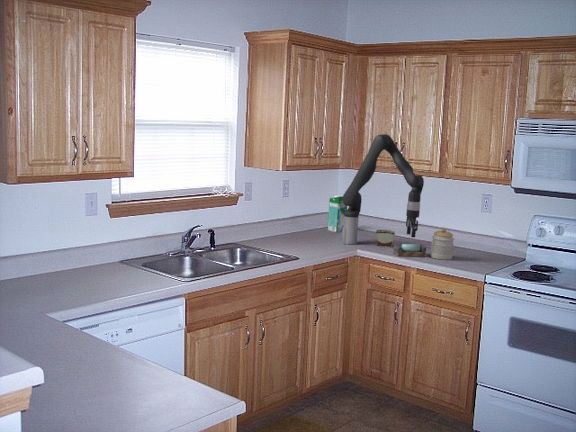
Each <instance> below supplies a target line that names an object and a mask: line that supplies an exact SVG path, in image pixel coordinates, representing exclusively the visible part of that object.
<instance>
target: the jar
mask: <svg viewBox="0 0 576 432" xmlns="http://www.w3.org/2000/svg"><path fill="white" fill-rule="evenodd" d="M453 236H454V234H453V233H451V232H450V231H448V230H447V229H446V228H444V227H443V228H442V229H441V230H437V231H435V232H434V233H433V236H431V239H432V241H431V242H430V243H431V247H430V248H431V249H430V257H431V258H433V259H436V260H441V261H442V260H443V261H445V260H446V261H447V260H448V261H449V260H452V259H453V256H454V241H455V238H454V237H453Z"/></svg>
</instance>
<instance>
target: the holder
mask: <svg viewBox="0 0 576 432" xmlns="http://www.w3.org/2000/svg"><path fill="white" fill-rule="evenodd" d="M419 245H420V252H402V247H401V245H399V244H398V243H397V244H396V243H394V244H393V253H392V254H394V255H395V256H397V257H398V258H399V257H405V258H407V257H409V258H410V257H411V258H426V257H427V247H426V246H424V245H422V244H419Z"/></svg>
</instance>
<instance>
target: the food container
mask: <svg viewBox="0 0 576 432" xmlns="http://www.w3.org/2000/svg"><path fill="white" fill-rule="evenodd" d="M374 234H375V235H376V236H375V237H376V246H377V247H379V246H384V248H392V247H393V245H394V244H393V242H394V237H395V236H396V233H395V231H394V230H391V229H376V231H375V233H374ZM385 246H386V247H385Z"/></svg>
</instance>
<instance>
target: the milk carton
mask: <svg viewBox="0 0 576 432" xmlns="http://www.w3.org/2000/svg"><path fill="white" fill-rule="evenodd" d="M328 200H329V205H328V218H327V219H328V220H327V231H330V232H334V233H342V228H343V225H344V212H345V211H346V210H347V209H348V206H346V205H344V203H343V195H342V196H341V195H334V197H329V199H328Z"/></svg>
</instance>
